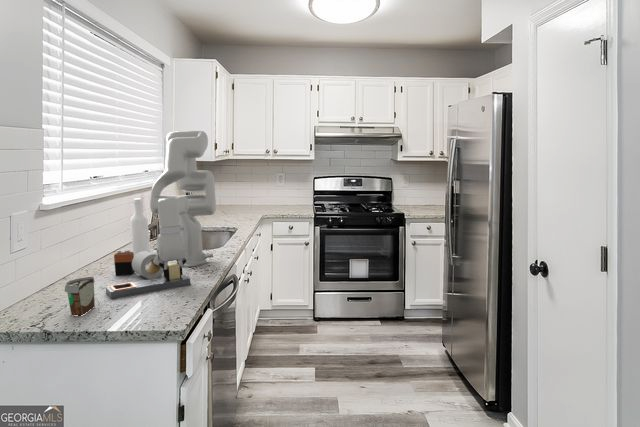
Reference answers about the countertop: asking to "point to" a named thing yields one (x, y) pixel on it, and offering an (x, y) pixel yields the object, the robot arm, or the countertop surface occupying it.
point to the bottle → (139, 229)
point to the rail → (145, 286)
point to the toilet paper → (140, 265)
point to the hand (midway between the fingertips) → (173, 277)
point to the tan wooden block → (173, 271)
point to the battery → (123, 263)
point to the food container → (80, 295)
